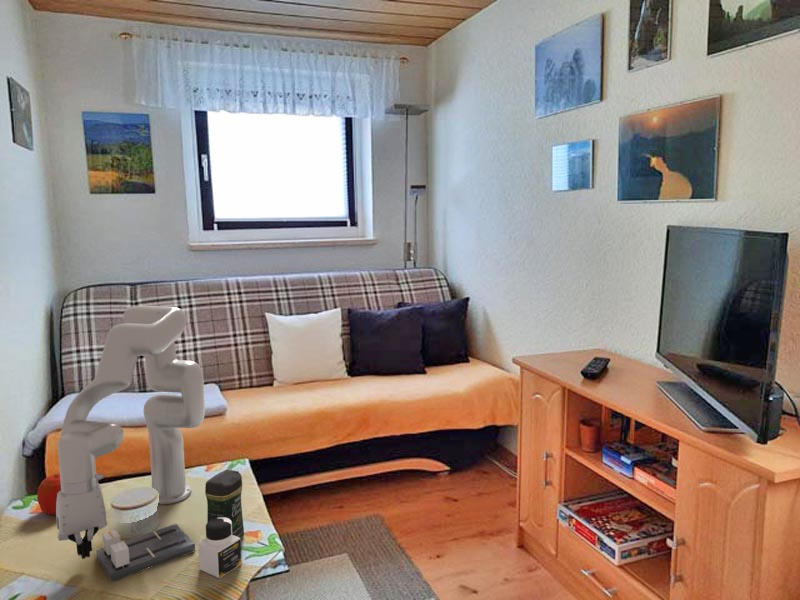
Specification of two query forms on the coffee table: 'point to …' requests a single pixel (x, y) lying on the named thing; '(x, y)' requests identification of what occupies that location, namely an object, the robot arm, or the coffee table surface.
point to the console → (148, 551)
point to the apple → (49, 493)
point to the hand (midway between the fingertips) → (84, 555)
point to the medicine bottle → (219, 548)
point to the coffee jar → (226, 499)
